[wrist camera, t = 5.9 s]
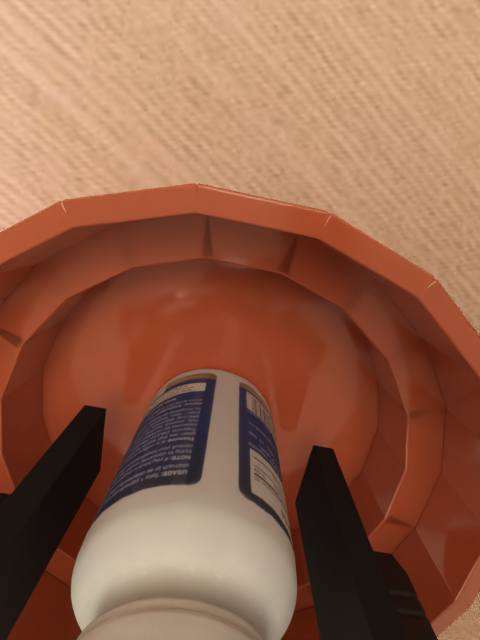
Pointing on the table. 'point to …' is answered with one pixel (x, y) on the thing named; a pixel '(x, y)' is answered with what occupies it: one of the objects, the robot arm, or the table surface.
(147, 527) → the pill bottle
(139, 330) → the bowl
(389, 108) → the table surface
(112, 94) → the table surface
